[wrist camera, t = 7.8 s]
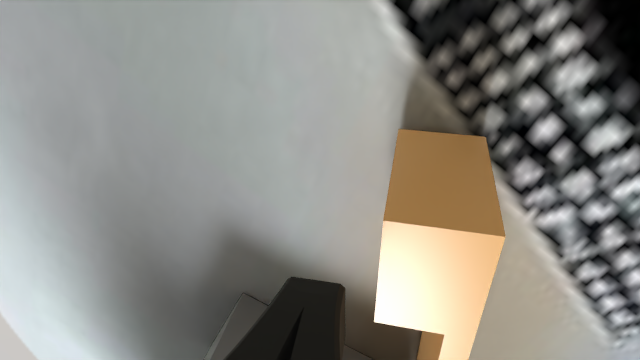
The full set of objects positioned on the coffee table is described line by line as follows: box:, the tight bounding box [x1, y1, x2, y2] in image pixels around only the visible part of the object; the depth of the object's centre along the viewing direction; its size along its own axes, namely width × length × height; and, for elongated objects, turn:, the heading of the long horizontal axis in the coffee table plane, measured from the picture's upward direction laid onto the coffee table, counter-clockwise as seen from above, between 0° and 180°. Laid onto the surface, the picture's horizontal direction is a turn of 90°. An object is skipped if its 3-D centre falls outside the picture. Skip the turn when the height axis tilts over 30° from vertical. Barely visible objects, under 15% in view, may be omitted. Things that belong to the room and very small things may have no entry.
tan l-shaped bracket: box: [374, 129, 505, 360], centre depth 16 cm, size 3×14×5 cm, turn 1°
